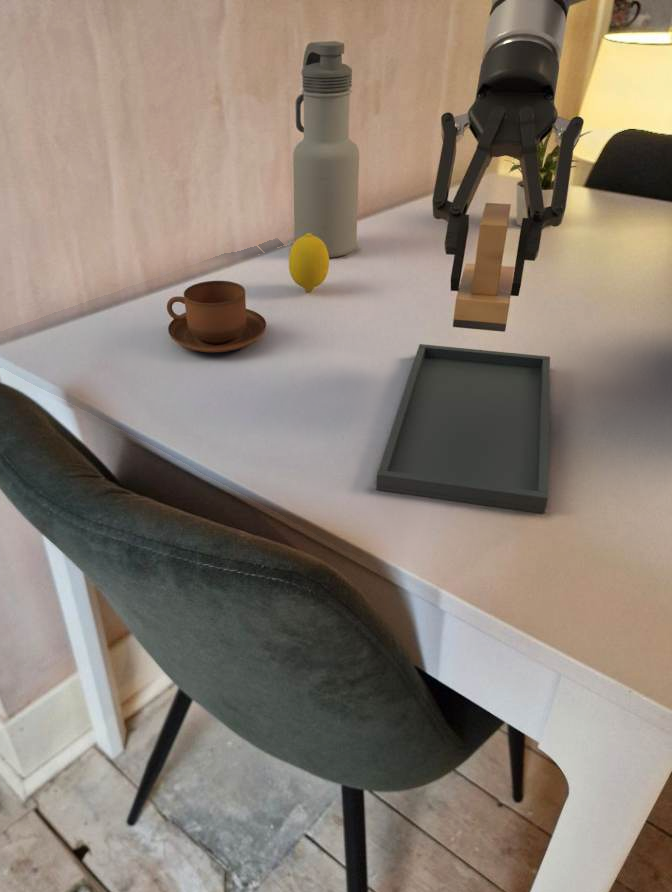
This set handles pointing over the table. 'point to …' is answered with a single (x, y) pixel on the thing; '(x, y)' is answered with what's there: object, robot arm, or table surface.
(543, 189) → the house plant
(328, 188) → the water bottle
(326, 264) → the lemon
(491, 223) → the wooden block on base
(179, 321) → the cup and saucer
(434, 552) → the table surface
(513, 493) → the tray
